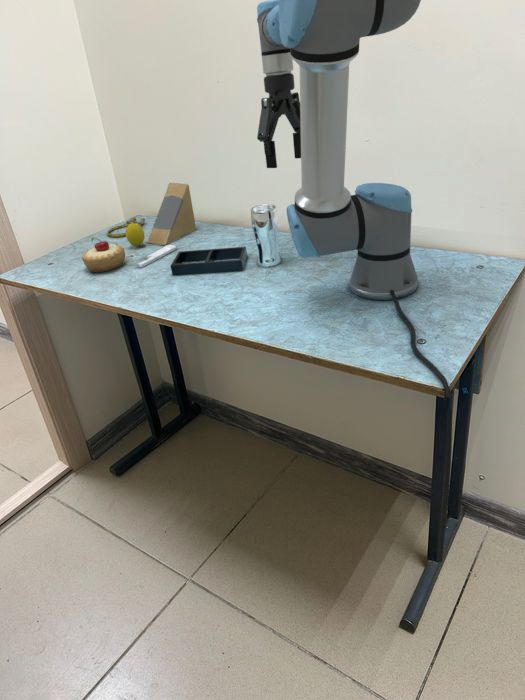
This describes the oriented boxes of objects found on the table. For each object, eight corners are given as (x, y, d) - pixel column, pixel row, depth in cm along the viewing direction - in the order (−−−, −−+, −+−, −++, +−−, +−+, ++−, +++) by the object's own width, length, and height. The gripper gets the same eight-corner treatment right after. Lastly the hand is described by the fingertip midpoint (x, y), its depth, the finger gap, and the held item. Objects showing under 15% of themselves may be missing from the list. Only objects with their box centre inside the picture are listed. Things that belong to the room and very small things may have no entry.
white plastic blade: (129, 265, 157) (128, 261, 157) (165, 247, 167) (164, 243, 167) (141, 267, 154) (140, 263, 154) (177, 249, 164) (176, 245, 164)
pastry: (113, 275, 152) (104, 245, 147) (78, 274, 156) (68, 245, 151) (134, 259, 161) (127, 230, 157) (101, 258, 165) (93, 230, 161)
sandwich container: (145, 242, 173) (134, 196, 165) (177, 227, 183) (168, 182, 176) (165, 245, 169) (154, 197, 161) (196, 229, 179) (188, 183, 171)
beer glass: (283, 256, 150) (277, 202, 142) (281, 266, 144) (275, 211, 136) (258, 258, 151) (251, 205, 143) (255, 268, 145) (248, 213, 137)
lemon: (128, 246, 172) (122, 221, 168) (145, 242, 173) (140, 218, 169) (130, 251, 168) (123, 226, 164) (147, 247, 169) (142, 222, 165)
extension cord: (156, 225, 188) (155, 219, 187) (118, 240, 179) (117, 234, 178) (137, 220, 195) (135, 215, 194) (99, 234, 186) (97, 228, 185)
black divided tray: (242, 270, 144) (241, 260, 143) (172, 275, 147) (170, 265, 145) (247, 256, 153) (245, 246, 151) (180, 261, 155) (178, 251, 154)
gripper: (292, 71, 145) (298, 154, 155) (236, 79, 128) (247, 172, 138) (316, 68, 141) (321, 154, 151) (261, 76, 124) (271, 172, 134)
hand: (286, 162), depth 144 cm, fingers open, 13 cm apart
